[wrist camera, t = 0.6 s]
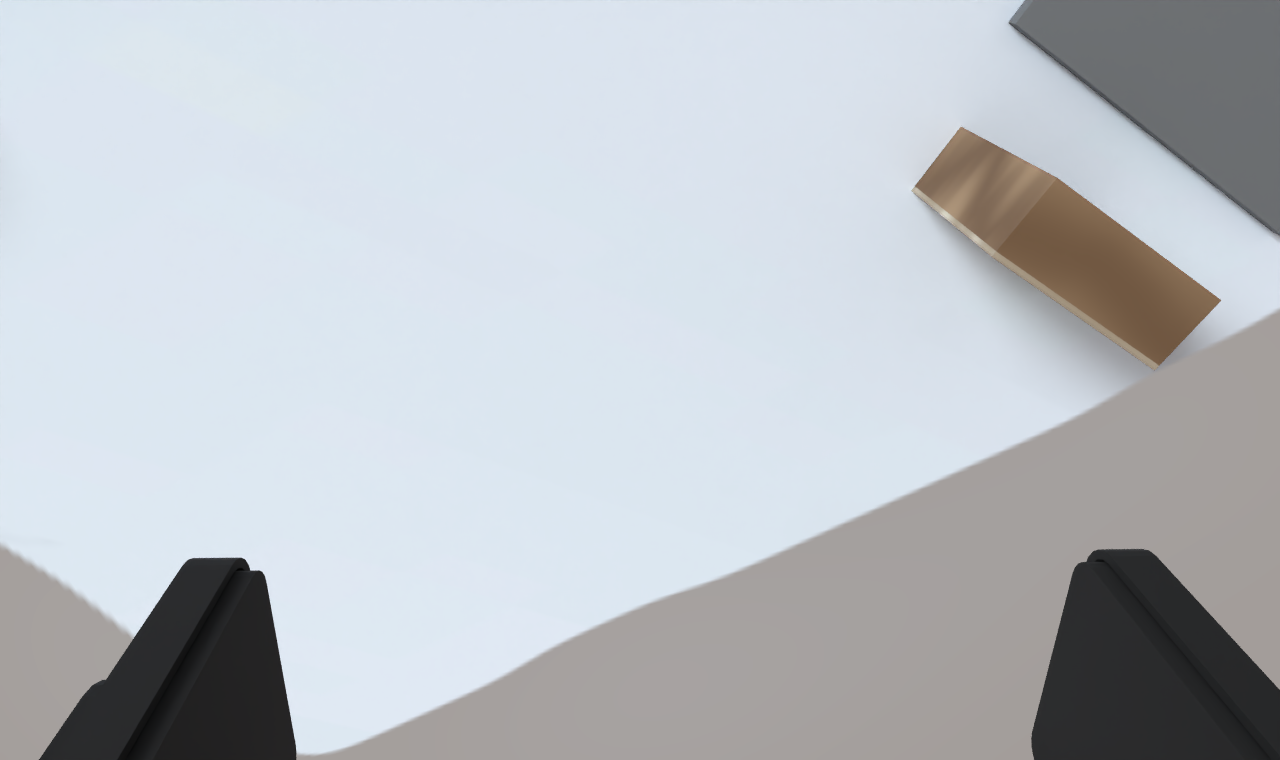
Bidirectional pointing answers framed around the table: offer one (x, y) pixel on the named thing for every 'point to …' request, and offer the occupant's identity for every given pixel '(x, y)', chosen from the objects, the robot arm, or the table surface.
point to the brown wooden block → (1065, 247)
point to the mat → (1182, 80)
